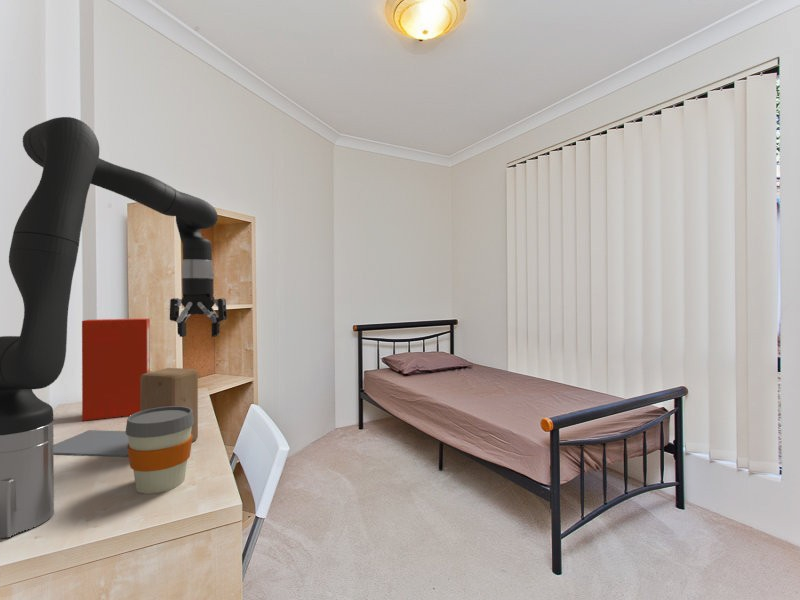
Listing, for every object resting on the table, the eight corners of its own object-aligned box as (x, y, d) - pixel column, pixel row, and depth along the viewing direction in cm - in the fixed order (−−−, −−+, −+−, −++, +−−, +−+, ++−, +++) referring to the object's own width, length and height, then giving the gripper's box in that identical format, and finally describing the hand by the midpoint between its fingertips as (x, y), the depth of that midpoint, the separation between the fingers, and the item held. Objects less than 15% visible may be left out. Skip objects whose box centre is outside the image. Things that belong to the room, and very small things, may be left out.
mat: (126, 456, 98) (126, 454, 97) (35, 453, 99) (35, 452, 99) (167, 433, 113) (167, 432, 113) (89, 431, 115) (89, 430, 115)
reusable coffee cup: (186, 465, 93) (186, 402, 93) (200, 484, 84) (200, 415, 83) (122, 481, 85) (121, 413, 84) (130, 505, 75) (129, 428, 75)
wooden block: (171, 454, 99) (171, 375, 99) (138, 450, 101) (138, 374, 101) (199, 439, 109) (199, 368, 109) (168, 436, 111) (168, 366, 111)
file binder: (89, 414, 131) (88, 319, 130) (149, 408, 138) (149, 318, 138) (82, 421, 123) (81, 321, 123) (146, 414, 131) (146, 319, 131)
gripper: (163, 276, 101) (164, 338, 102) (218, 276, 102) (219, 338, 102) (178, 277, 109) (179, 334, 109) (230, 277, 109) (230, 334, 110)
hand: (198, 336), depth 106 cm, fingers open, 8 cm apart
